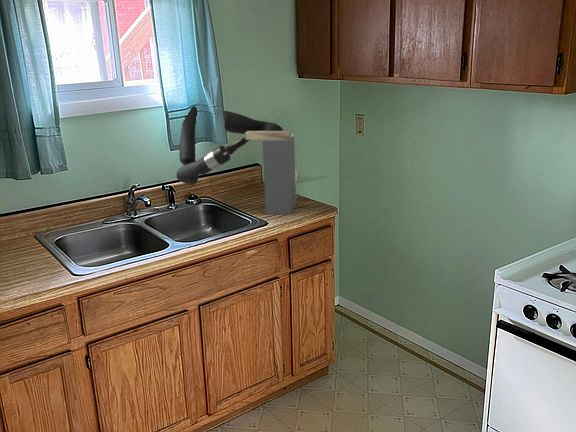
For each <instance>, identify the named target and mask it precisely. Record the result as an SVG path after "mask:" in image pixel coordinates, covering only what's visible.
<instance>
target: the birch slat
mask: <svg viewBox="0 0 576 432" xmlns="http://www.w3.org/2000/svg"><path fill="white" fill-rule="evenodd" d="M291 134H292V130H283V131H247V132H245V134H244V135H245V138H246V140H249V141H251V140H252V141H255V140H256V141H257V140H258V141H259V140H260V141H263V140H290V139H291Z"/></svg>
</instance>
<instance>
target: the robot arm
mask: <svg viewBox="0 0 576 432" xmlns="http://www.w3.org/2000/svg"><path fill="white" fill-rule="evenodd" d="M223 111H224V119H225V129H226V131H225V132H229V133H233V134H237V135H238V134H241V135H245V132H247V131H284V128H283V127H282V126H280V125H279V124H277V123H276V122H272V121H271V122H270V121H263V120H257V119H254V118H250V117H248V116H246V115H243V114H240V113H236V112H232V111H229V110H223ZM196 116H197V108H196V107H195V106H194V107H192V108H191V110H190V112H189V113H188V115H187V116H186V117H185V120H184V121H183V123H182V128H181V127H180V128H181V129H180V140H179V148H178V151H179V161H180V163H181V164H182V165H183V166H181V167H179V168H178V170H177V171H176V176H175V177H176V179H177V180H178V181H179V182H181V183H183V184H186V185H188V186H194V185H196V184H197V183H198V181H199V176H200V175H201V176H204V175H208V173H210V172H212V171H213V170H216V169H218V168H220V167H221V166H222V165H224V164H226V163H228V162H230V160H231V156H232V155H233V154H234V153H236V152H237V151H238V150H239V149H241V147H243V146H244V145H246V144H247V143H248V142H249V141H250V140H246V138H245V137H243V138H240V139H239V140H235V141H234V142H233V143H230V144H228V145H227V146H224V145H219V146H217V147H216V148H214V149H213V150H211V151H209V152H208V153H207V154H205V155H204V156H202V157H200V158H198V160H197V159H196V125H197V124H196Z"/></svg>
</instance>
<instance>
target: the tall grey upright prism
mask: <svg viewBox="0 0 576 432" xmlns="http://www.w3.org/2000/svg"><path fill="white" fill-rule="evenodd" d="M295 154H296V153H295V134H293V133H291V139H290V140H262V157H263V175H264V176H263V177H264V178H263V179H264V180H263V181H264V197H265V198H264V200H265V215H292V213H293V212H294V211H295V208H296V206H297V200H296V197H297V194H296V193H297V186H296V185H295V168H296V158H295Z"/></svg>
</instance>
